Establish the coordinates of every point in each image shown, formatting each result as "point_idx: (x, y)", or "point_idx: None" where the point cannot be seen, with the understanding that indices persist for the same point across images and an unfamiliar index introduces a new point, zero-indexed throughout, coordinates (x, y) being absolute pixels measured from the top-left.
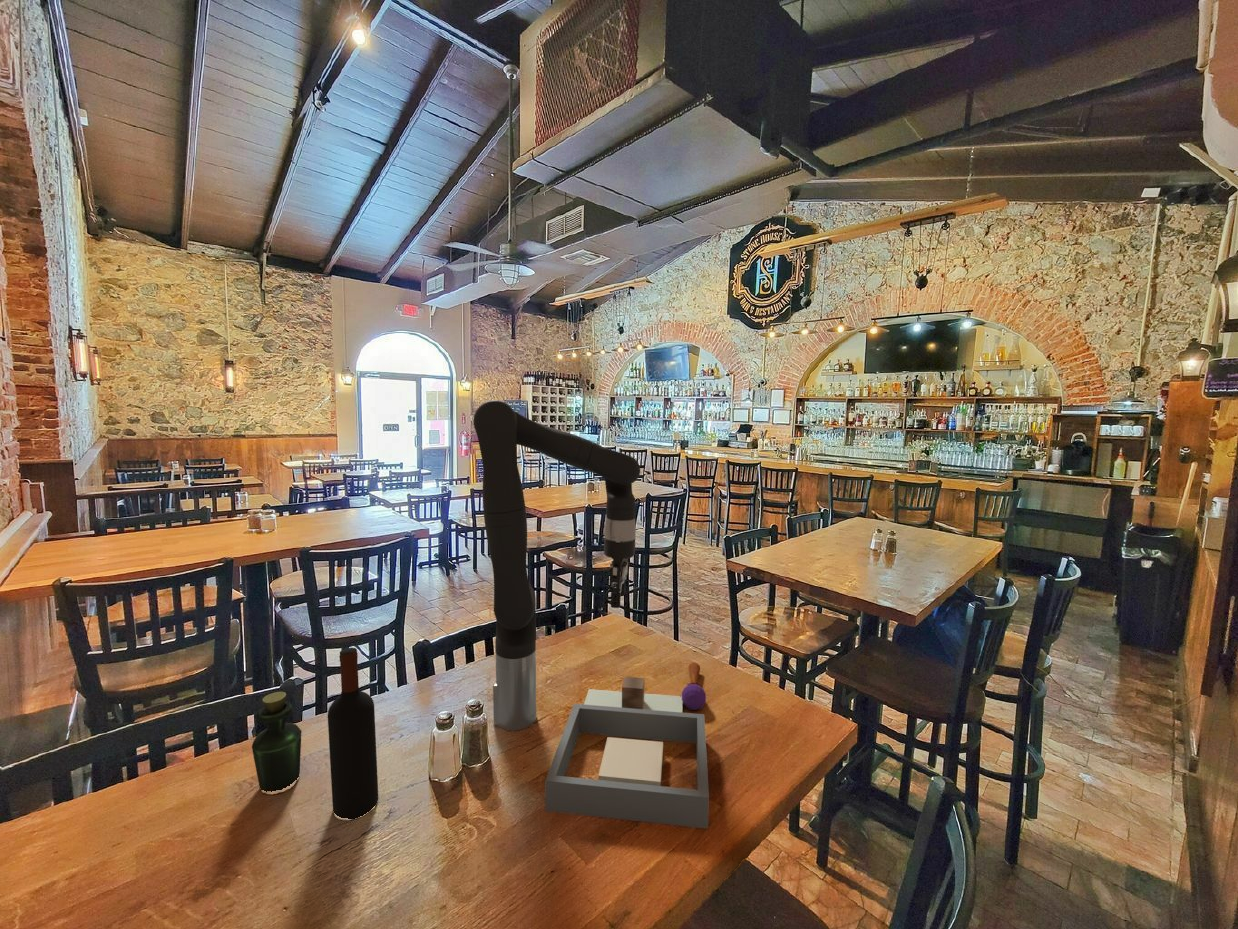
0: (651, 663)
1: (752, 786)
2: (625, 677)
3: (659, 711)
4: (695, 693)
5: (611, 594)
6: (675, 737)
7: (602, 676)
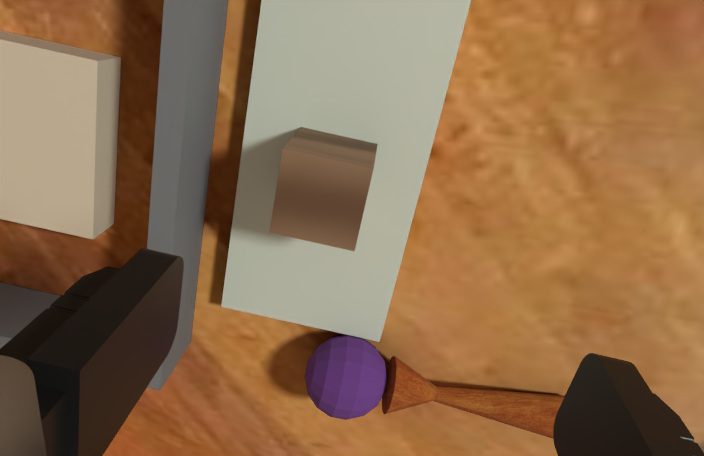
0: (671, 281)
1: None
2: (365, 172)
3: None
4: (313, 392)
5: (48, 343)
6: None
7: (612, 66)
